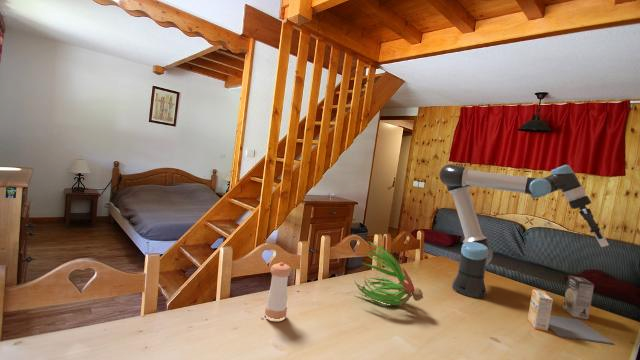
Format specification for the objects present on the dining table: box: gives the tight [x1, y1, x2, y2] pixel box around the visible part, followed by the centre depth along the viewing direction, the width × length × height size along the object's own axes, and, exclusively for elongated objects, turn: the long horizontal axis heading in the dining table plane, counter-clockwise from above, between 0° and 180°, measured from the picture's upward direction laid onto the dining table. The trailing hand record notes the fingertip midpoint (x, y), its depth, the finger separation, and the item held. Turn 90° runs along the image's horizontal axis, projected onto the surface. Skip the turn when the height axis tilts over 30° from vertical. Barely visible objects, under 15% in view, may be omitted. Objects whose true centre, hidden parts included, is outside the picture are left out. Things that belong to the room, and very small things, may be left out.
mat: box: [548, 314, 614, 345], centre depth 131 cm, size 20×18×1 cm
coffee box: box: [562, 275, 595, 320], centre depth 147 cm, size 9×6×16 cm
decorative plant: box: [350, 240, 424, 306], centre depth 132 cm, size 26×25×30 cm
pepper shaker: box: [264, 261, 292, 319], centre depth 111 cm, size 7×7×19 cm
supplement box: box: [527, 289, 554, 332], centre depth 129 cm, size 8×5×13 cm, turn 164°
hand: (603, 243), depth 140 cm, fingers open, 13 cm apart
